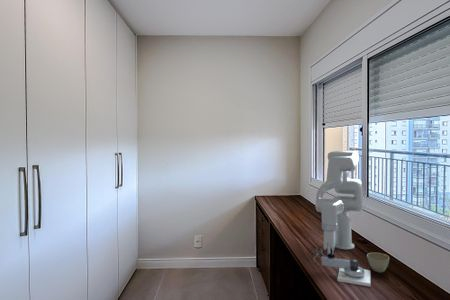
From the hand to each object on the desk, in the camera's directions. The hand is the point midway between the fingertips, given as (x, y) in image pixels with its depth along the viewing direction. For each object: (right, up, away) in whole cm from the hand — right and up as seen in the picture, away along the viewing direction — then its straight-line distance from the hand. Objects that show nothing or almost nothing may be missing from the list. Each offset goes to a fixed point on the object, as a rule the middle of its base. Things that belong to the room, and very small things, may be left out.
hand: (331, 261), depth 146 cm
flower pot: (+23, -4, -2) cm, 24 cm away
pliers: (0, -5, +19) cm, 20 cm away
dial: (+4, -3, -6) cm, 7 cm away
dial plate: (+8, -4, -8) cm, 12 cm away
